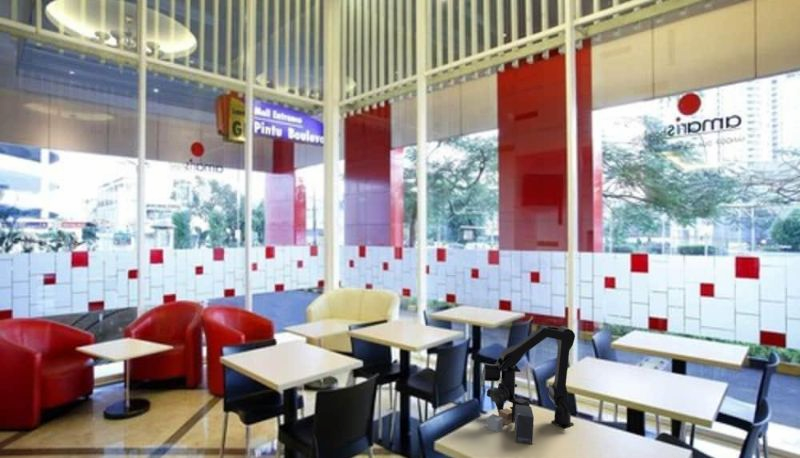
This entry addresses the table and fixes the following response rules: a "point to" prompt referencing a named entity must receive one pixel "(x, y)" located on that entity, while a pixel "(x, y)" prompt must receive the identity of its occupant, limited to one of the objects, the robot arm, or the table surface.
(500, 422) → the slate block
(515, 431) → the small box
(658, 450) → the table surface
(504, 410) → the walnut cube
